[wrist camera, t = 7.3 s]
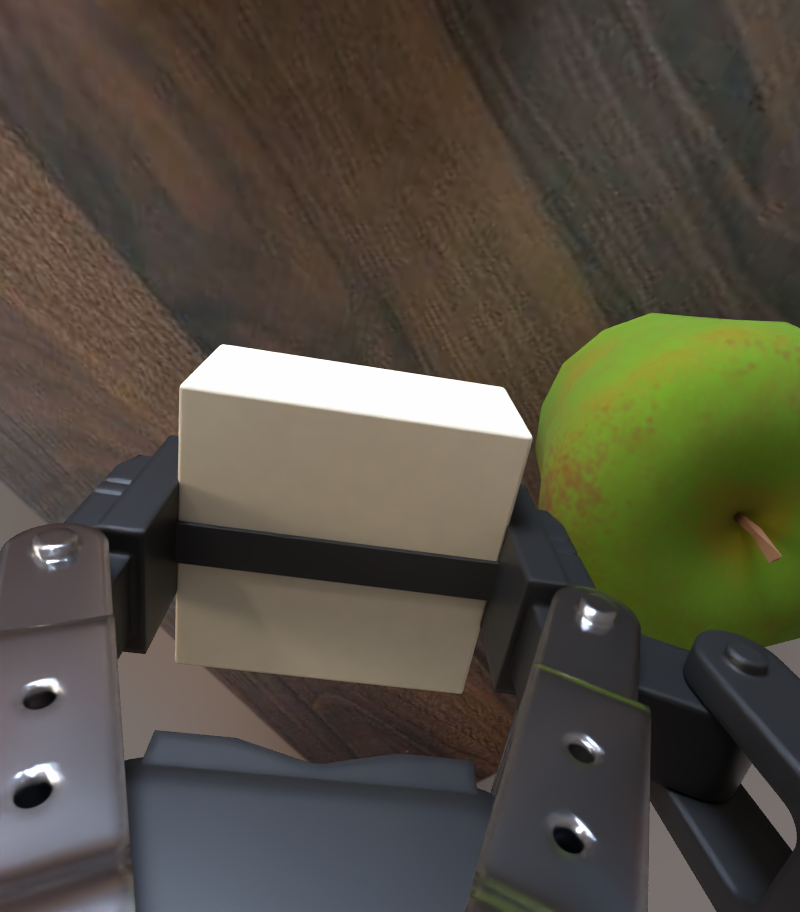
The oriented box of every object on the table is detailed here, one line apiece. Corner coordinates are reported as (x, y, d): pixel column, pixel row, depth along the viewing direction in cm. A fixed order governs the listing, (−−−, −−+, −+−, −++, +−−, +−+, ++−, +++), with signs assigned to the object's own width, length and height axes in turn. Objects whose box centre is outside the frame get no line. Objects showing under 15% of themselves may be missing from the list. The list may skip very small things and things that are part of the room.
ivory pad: (209, 582, 14) (172, 668, 11) (220, 342, 12) (176, 386, 9) (449, 610, 14) (463, 699, 12) (505, 386, 12) (536, 439, 10)
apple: (826, 353, 27) (1091, 456, 17) (674, 561, 32) (811, 742, 22) (589, 237, 25) (731, 276, 15) (461, 480, 30) (502, 638, 19)
